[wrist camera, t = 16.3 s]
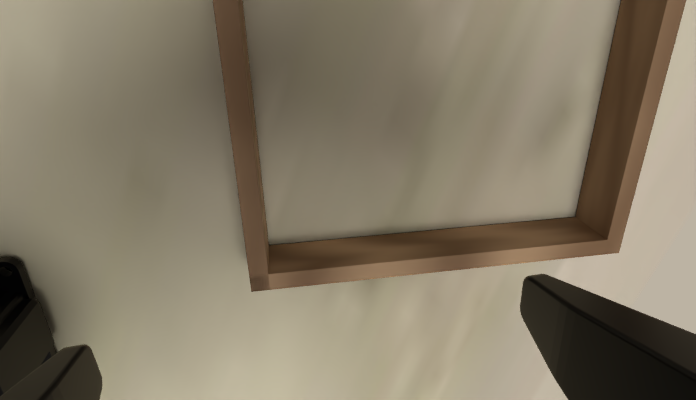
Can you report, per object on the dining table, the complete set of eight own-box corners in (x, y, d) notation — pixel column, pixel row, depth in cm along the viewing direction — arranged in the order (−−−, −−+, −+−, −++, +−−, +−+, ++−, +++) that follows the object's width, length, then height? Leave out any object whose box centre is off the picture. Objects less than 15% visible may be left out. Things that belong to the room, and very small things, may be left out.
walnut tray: (253, 261, 22) (251, 291, 19) (199, -165, 15) (186, -195, 13) (586, 229, 24) (618, 252, 22) (672, -154, 17) (733, -177, 15)
